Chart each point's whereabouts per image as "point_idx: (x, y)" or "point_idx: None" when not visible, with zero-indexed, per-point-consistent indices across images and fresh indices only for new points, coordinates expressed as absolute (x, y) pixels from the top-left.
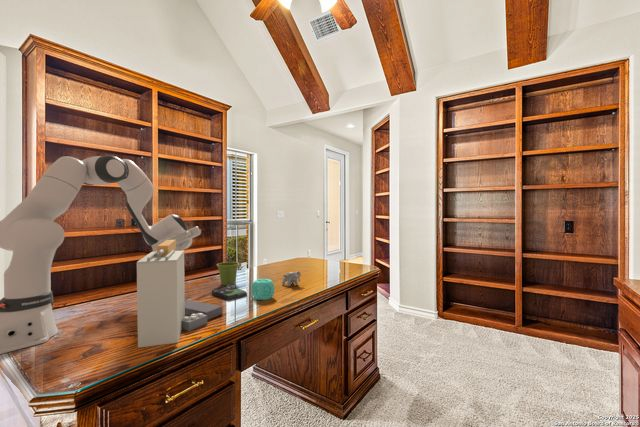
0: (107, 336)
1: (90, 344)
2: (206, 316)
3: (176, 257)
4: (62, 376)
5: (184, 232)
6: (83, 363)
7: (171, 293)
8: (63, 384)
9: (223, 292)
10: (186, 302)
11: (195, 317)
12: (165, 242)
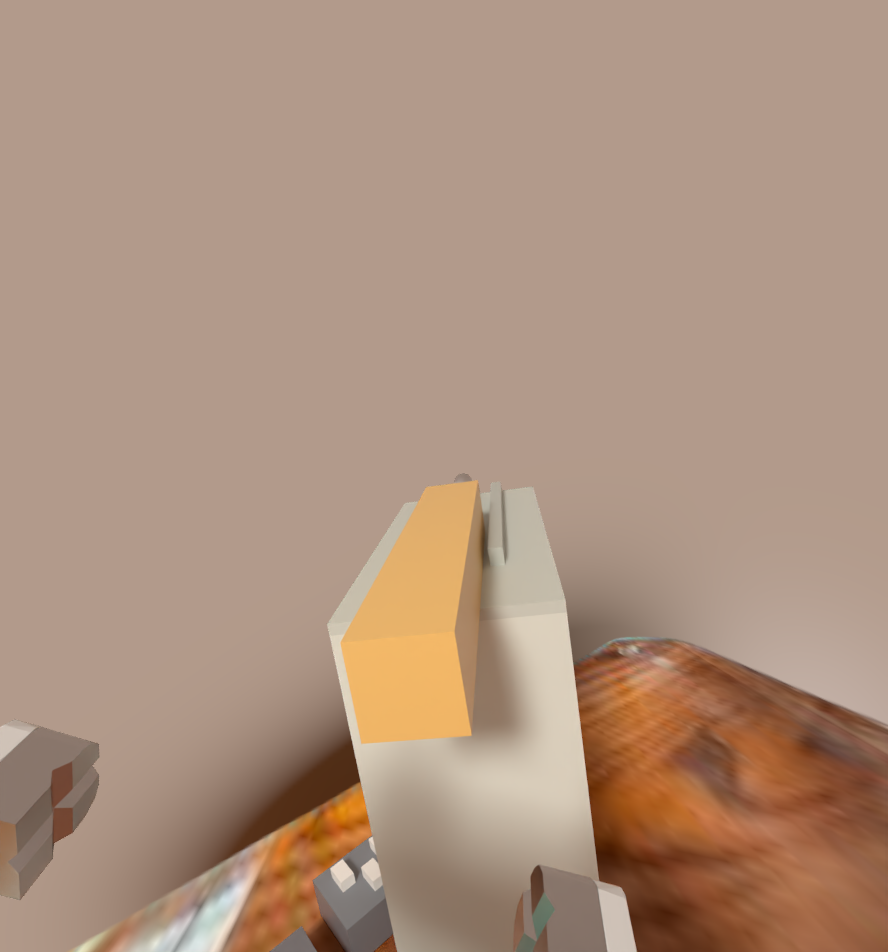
0: (762, 876)
1: (771, 811)
2: (318, 879)
3: (402, 519)
4: (682, 671)
5: (58, 740)
6: (678, 706)
7: None
8: (653, 652)
9: None
10: None
11: (372, 840)
12: (448, 530)
